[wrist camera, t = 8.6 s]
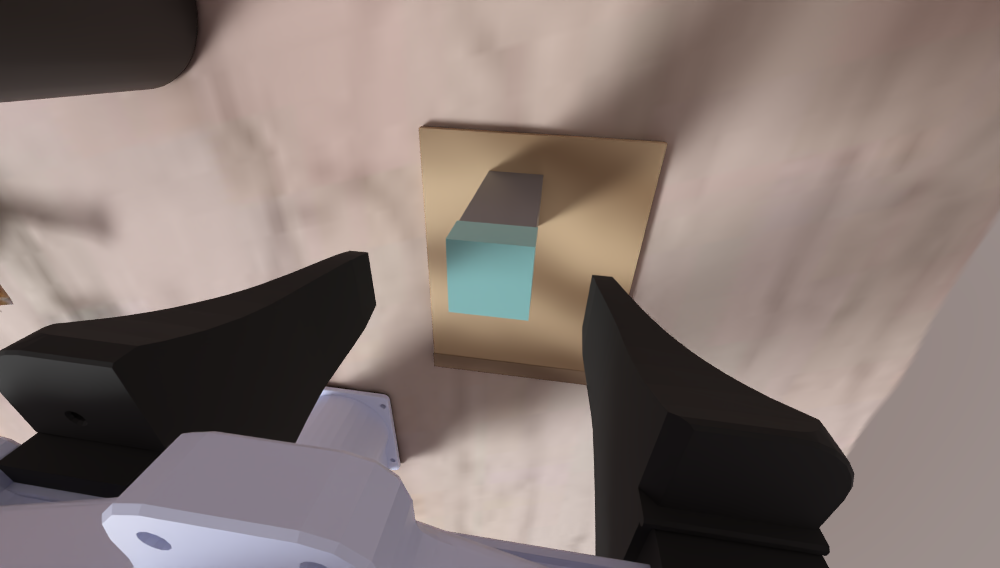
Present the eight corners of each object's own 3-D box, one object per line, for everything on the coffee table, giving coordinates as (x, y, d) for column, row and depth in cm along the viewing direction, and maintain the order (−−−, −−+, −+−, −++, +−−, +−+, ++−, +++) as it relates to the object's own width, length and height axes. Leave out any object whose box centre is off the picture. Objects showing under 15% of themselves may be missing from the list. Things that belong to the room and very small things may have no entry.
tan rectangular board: (605, 381, 27) (606, 387, 26) (436, 360, 28) (434, 365, 27) (665, 141, 18) (668, 144, 18) (420, 126, 19) (417, 127, 19)
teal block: (539, 227, 21) (528, 320, 14) (486, 222, 21) (448, 311, 14) (544, 173, 19) (535, 247, 12) (487, 169, 20) (445, 238, 12)
